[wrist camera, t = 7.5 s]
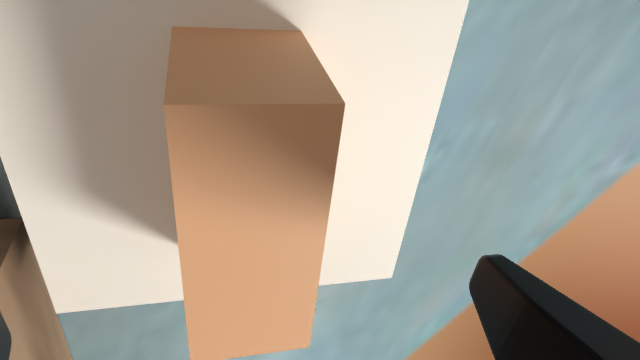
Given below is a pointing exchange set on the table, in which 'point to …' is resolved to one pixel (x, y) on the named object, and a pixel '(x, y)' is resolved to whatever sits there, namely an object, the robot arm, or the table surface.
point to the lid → (219, 151)
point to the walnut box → (27, 299)
